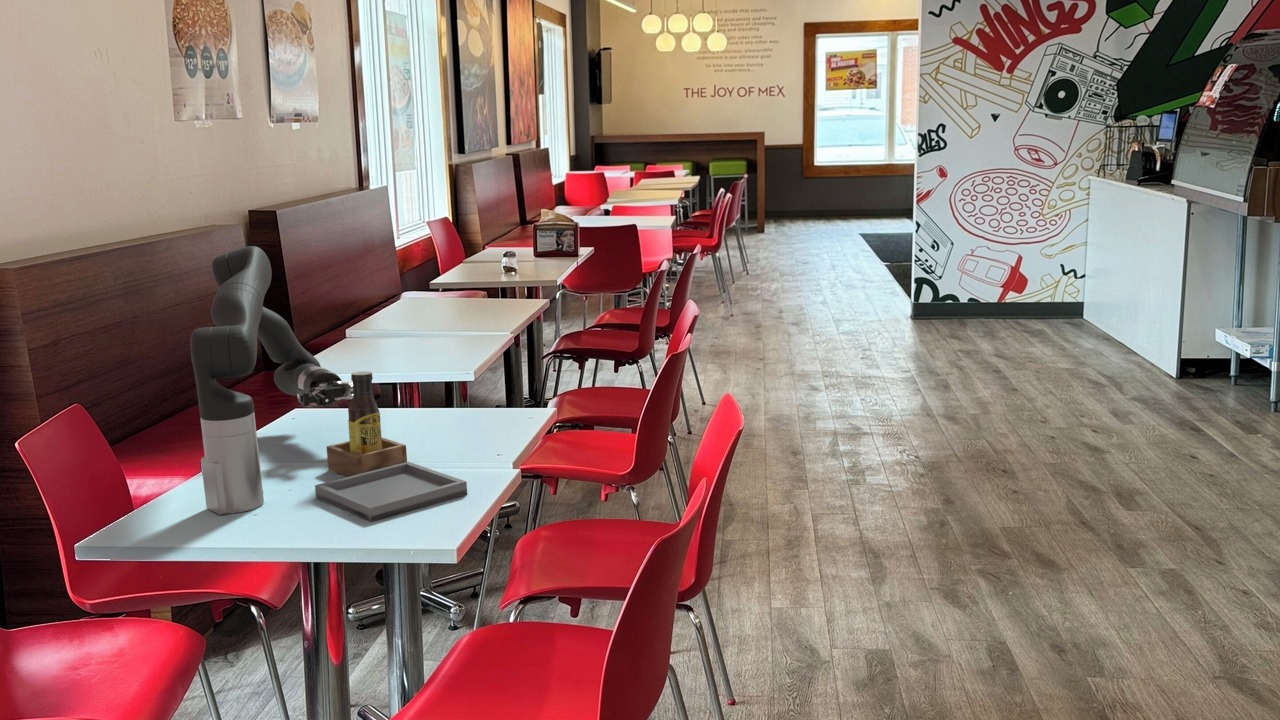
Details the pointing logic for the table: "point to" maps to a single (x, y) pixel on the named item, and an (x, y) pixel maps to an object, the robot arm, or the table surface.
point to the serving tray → (390, 491)
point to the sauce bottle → (364, 416)
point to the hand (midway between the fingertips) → (344, 398)
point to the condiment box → (364, 458)
